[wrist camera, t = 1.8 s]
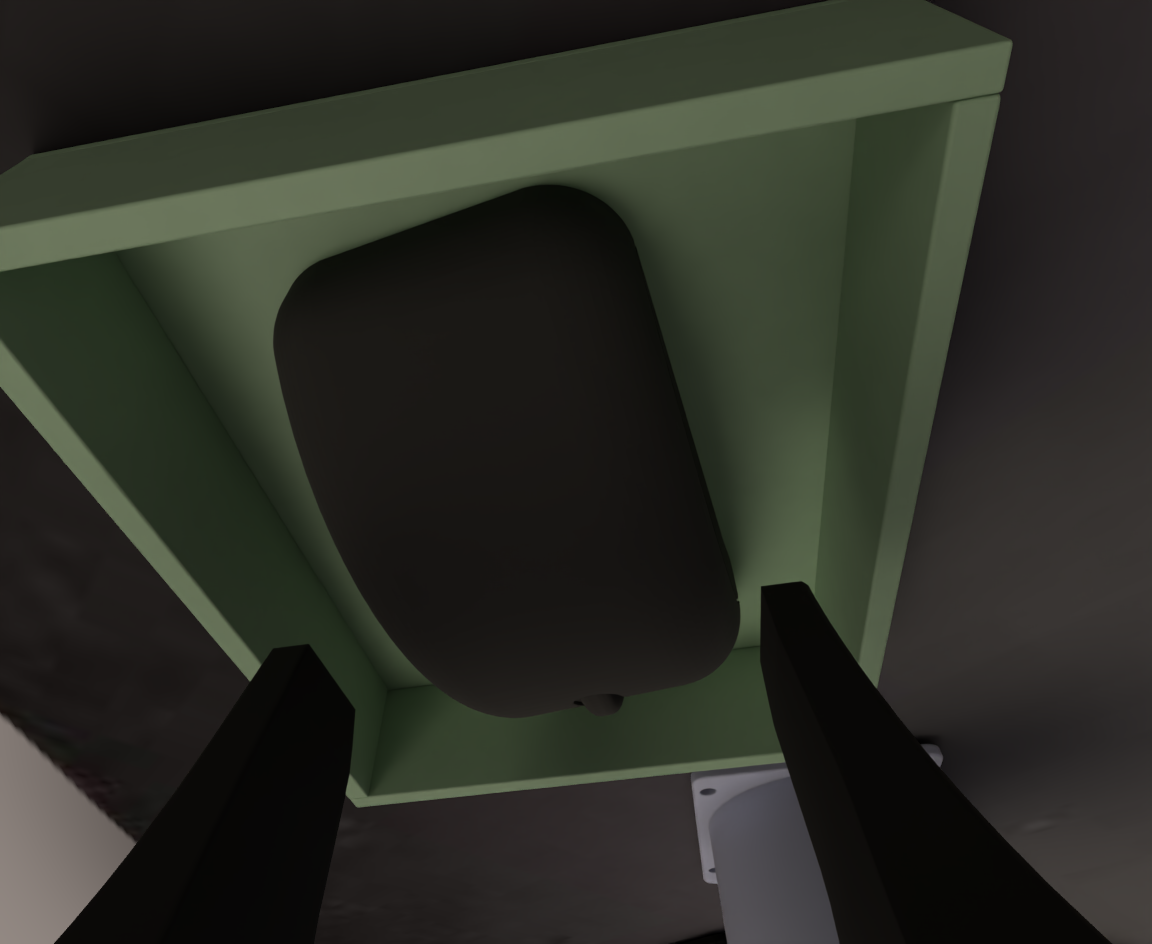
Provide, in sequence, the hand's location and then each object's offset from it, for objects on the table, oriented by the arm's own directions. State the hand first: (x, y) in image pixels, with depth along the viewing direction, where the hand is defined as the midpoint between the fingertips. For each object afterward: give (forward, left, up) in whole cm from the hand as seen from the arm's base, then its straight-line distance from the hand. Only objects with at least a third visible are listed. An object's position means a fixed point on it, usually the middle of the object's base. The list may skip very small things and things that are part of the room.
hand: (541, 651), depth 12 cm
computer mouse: (0, 0, -5) cm, 5 cm away
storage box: (0, 0, -5) cm, 5 cm away
